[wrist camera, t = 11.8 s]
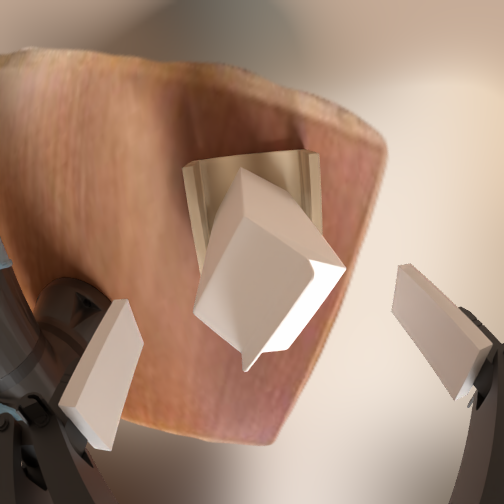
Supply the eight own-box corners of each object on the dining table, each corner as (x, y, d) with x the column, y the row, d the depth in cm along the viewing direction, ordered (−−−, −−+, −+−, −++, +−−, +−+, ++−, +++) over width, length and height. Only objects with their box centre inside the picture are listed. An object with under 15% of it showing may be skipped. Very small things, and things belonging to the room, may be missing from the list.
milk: (288, 191, 32) (374, 300, 12) (262, 237, 34) (298, 391, 14) (239, 165, 30) (247, 238, 10) (213, 214, 32) (183, 354, 12)
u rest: (206, 256, 36) (201, 280, 30) (191, 161, 31) (182, 167, 25) (309, 244, 36) (322, 266, 30) (304, 149, 31) (319, 153, 25)
